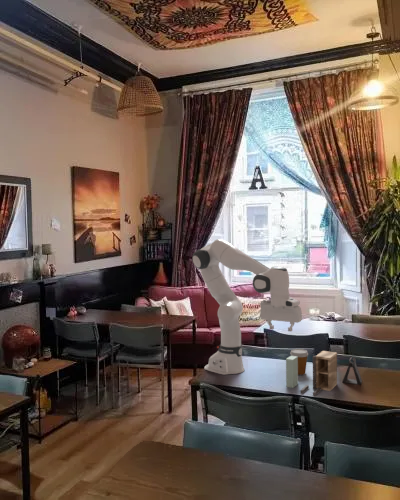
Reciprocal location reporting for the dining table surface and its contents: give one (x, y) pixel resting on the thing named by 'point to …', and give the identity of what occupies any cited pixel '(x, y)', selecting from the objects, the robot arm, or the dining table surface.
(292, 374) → the pale green block
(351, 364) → the dark grey triangular stand
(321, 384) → the cabinet
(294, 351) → the disposable coffee cup
